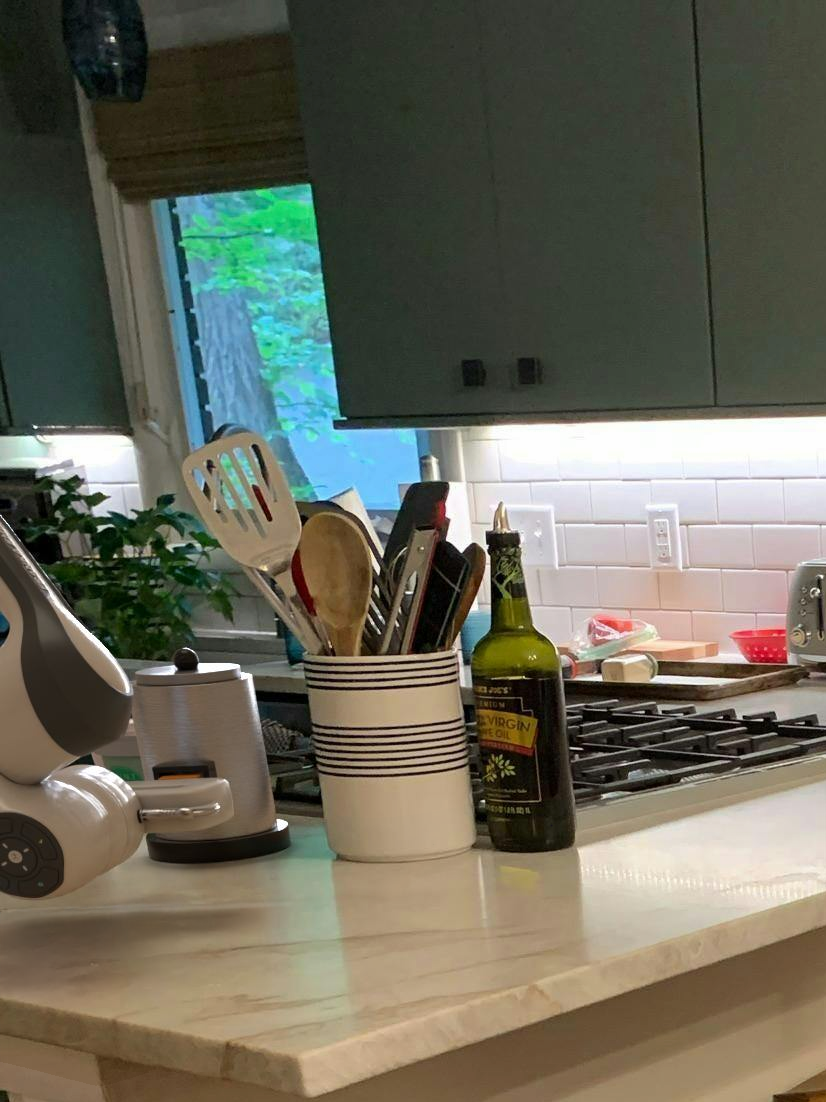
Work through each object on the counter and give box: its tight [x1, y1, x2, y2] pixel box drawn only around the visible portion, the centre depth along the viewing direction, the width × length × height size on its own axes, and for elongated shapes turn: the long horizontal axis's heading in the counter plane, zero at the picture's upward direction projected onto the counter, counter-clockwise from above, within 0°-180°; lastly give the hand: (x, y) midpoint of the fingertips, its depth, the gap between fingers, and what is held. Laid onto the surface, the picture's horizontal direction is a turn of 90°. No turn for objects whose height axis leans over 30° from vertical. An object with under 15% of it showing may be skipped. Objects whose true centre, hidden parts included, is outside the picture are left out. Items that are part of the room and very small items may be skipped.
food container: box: [94, 736, 145, 782], centre depth 213 cm, size 12×6×10 cm, turn 80°
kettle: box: [129, 647, 292, 864], centre depth 197 cm, size 18×14×20 cm
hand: (138, 792), depth 178 cm, fingers closed
